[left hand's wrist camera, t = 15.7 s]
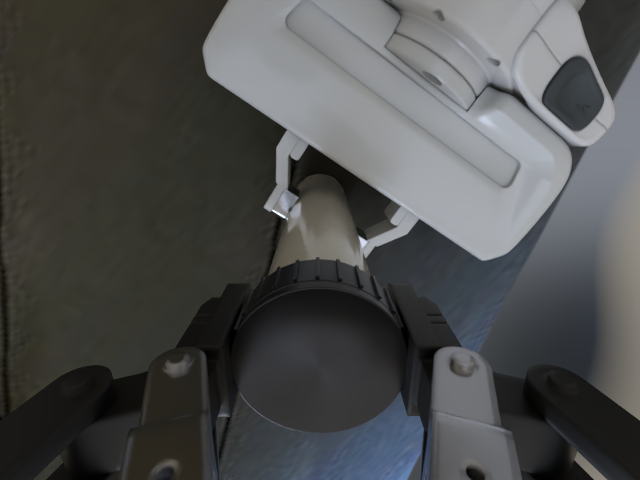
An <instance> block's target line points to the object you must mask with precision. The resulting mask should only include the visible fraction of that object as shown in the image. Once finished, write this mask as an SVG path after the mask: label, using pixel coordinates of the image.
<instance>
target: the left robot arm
mask: <svg viewBox="0 0 640 480" xmlns="http://www.w3.org/2000/svg"><path fill="white" fill-rule="evenodd" d="M250 291H251V285H250V284H228V285H227V287H226V289H225V290H224V292H223V294H222V296H221V298H211V299H210V300H208V301H207V302H206V303H204V304H203V305H202V306H201V307H200V309H199V310H198V312H197V314H196V317H194V319H193V320H192V322H191V324H190V325H189V327H188V328H187V330H186V332H185V333H184V335H183V336H182V338H181V340H180V341H179V343H178V345H177V346H176V348H175V349H172V350H169V351H167V352H164V353H163V354H161V355H160V356H158V357H157V358H156V359H155V360H153V362H152V363H151V364H150V366H149V369H148V371H147V372H144V373H140V374H137V375H132V376H128V377H123V378H118V379H114V380H113V377H112V373H111V371H110V370H109V369H108V368H107V367H104V366H99V365H93V366H86V367H82V368H78V369H75V370H73V371H70V372H68V373H66V374H64V375H62V376H61V377H59V378H57V379H56V380H55V381H53V382H52V383H50V384H49V385H48V386H46V387H45V388H44V389H42V390H41V391H40V392H38V393H37V394H36V395H34V396H33V397H32V398H30V399H29V400H28V401H26V402H25V403H23V404H22V405H21V406H19V407H18V408H17V409H15V410H14V411H13V412H11V413H10V414H9V415H7V416H6V417H5V418H3V419H2V420H1V421H0V480H33V479H34V478H35V477H36V476H37V475H38V474H39V473H40V472H41V471H42V470H43V469H44V468H45V467H46V466H47V465H48V464H49V463H50V462H51V461H53V460H54V459H55V458H56V457H57V456H58V455H59V454H60V455H61V458H62V461H63V464H62V465H61V466H59V467H58V468H57V469H56V470H55V471H54V472H53V473H52V474H51V475H50V476H49V477H48V478H47V479H46V480H220V468H219V455H218V442H217V432H216V425H215V423H216V420H217V417H218V416H230V415H231V412H232V408H233V405H234V401H235V398H236V395H237V391H238V390H237V388H236V385H235V383H234V381H233V374H232V365H231V355H230V350H231V345H232V341H233V339H234V336H235V332H233V330H234V327H235V325H236V322H237V320H238V317H239V315H240V312H241V310H242V307H243V305H245V303H246V301H247V298H248V295H249V293H250ZM387 291H388V293H389V296H390V298H391V301H392V303H395V306H396V309H397V311H398V314H399V316H400V319H401V321H402V324H403V326H404V330H402V332H403V335H404V338H405V340H406V344H407V348H408V353H407V363H406V373H405V381H404V384H403V386H402V389H401V390H400V391H401V395H402V398H403V401H404V405H405V408H406V412H407V415H408V416H420V418H421V421H422V424H423V427H424V432H423V442H422V455H421V468H420V480H594V479H593V478H591V476H590V475H589V474H588V473H587V472H586V471H585V470H583V468H581V467H580V466H579V465H578V464H577V463H576V462H575V461H574V459H575V456H576V453H577V451H578V452H579V453H580V454H581V455H582V456H583V457H584V458H585V459H587V461H589V462H590V463H591V464H592V465H593V466H594V467H595V468H596V469H597V470H598V471H599V472H600V473H601V474H602V475H603V476H604V477H605V478H606V479H607V480H640V421H639V420H638V419H637V418H635V417H634V416H633V415H631V414H630V413H629V412H627V411H626V410H625V409H623V408H622V407H621V406H619V405H618V404H616V403H615V402H614V401H612V400H611V399H610V398H608V397H607V396H606V395H604V394H603V393H602V392H600V391H599V390H598V389H596V388H595V387H593V386H592V385H591V384H589V383H588V382H587V381H585V380H584V379H583V378H581V377H580V376H578V375H576V374H575V373H573V372H571V371H569V370H566V369H563V368H561V367H557V366H553V365H546V364H540V365H535V366H532V367H530V368H529V369H528V371H527V375H526V379H521V378H517V377H512V376H508V375H503V374H499V373H495V372H492V369H491V366H490V364H489V363H488V362H487V361H486V360H485V359H484V358H483V357H482V356H480V355H479V354H477V353H476V352H473V351H471V350H468V349H465V348H462V346H461V345H460V343H459V341H458V340H457V338H456V336H455V335H454V333H453V332H452V330H451V328H450V327H449V325H448V324H447V322H446V320H445V318H444V317H443V316H442V313H441V312H440V310H439V308H438V307H437V305H436V304H434V303H433V302H431V301H430V300H429V299H427V298H426V297H417V296H416V294H415V292H414V290H413V288H412V286H411V284H410V283H389V284H388V286H387Z"/></svg>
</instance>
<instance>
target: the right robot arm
mask: <svg viewBox="0 0 640 480" xmlns="http://www.w3.org/2000/svg"><path fill="white" fill-rule="evenodd" d="M585 1H586V0H228V1H227V3H226V5H225V6H224V8H223V10H222V11H221V13H220V15H219V16H218V18H217V20H216V21H215V23H214V25H213V27H212V28H211V30H210V32H209V34H208V36H207V38H206V40H205V42H204V45H203V57H204V62H205V67H206V72H207V74H208V76H209V77H210V78H212V79H213V80H215V81H216V82H218V83H219V84H220V85H222V86H223V87H225V88H226V89H228V90H229V91H231V92H232V93H234V94H235V95H237V96H238V97H240V98H241V99H243V100H244V101H246V102H247V103H249V104H250V105H252V106H253V107H255V108H256V109H258V110H259V111H261V112H262V113H263V114H265V115H266V116H268V117H269V118H271V119H272V120H274V121H275V122H277V123H278V124H280V125H281V126H283V127H284V128H286V129H287V131H286V132H285V134H284V136H283V137H282V139H281V141H280V143H279V144H278V146H277V148H276V183H277V185H276V187H275V189H274V190H273V192H272V194H271V195H270V197H269V199H268V200H267V202H266V204H265V205H264V207H263V208H265V209H266V210H268V211H269V212H271V213H273V214H275V215H277V216H278V217H280V218H282V219H283V220H285V218H286V217H287V215H288V213H289V210H290V208H291V207H293V206H294V205H295V203H296V202H297V200H298V198H299V196H300V195H299V194H300V191H299V190H298V189H296V188H295V187H293V186H292V185H290V169H291V157H292V158H293V159H295V160H299V159H300V157H301V156H302V154H303V152H304V151H305V149H306V148H307V146H308V145H311V146H312V147H314V148H315V149H317V150H318V151H320V152H321V153H323V154H324V155H326V156H327V157H329V158H330V159H332V160H333V161H335V162H336V163H338V164H339V165H341V166H342V167H344V168H345V169H346V170H348V171H349V172H351V173H352V174H354V175H355V176H357V177H358V178H360V179H361V180H363V181H364V182H366V183H367V184H369V185H370V186H372V187H373V188H375V189H376V190H378V191H379V192H381V193H382V194H384V195H385V196H387V197H388V198H389V199H391V202H390V203H389V205H388V206H387V207H386V209H385V210H384V213H385V215H386V216H387V218H388V219H386V220H384V221H382V222H380V223H378V224H376V225H374V226H371V227H369V228H367V229H365V230H364V231H362V230H361V229H359V228H357V227H356V226H355V227H356V230H357V233H358V236H359V239H360V242H361V246H362V249H363V252H364V255H365V258H366V257H367V256H368V255H369V253H370V252H371V251H372V249H373V248H374V247H375V246H377V247H378V246H380V245H382V244H385V243H387V242H389V241H392V240H394V239H396V238H399V237H401V236H404V235H406V234H407V233H408V232H409V231H410V230H411V228H412V227H413V226H414V225H415V223H416V222H417V221H418V220H419V219H421V220H422V221H424V222H425V223H427V224H428V225H430V226H431V227H432V228H434V229H435V230H437V231H438V232H440V233H441V234H443V235H444V236H446V237H447V238H449V239H450V240H452V241H453V242H455V243H456V244H458V245H459V246H461V247H462V248H464V249H465V250H467V251H468V252H470V253H471V254H473V255H474V256H476V257H477V258H479V259H480V260H483V261H485V260H490V259H493V258H497V257H500V256H503V255H505V254H507V253H508V252H509V251H510V250H511V249H512V248H513V247H514V246H516V245H517V243H518V242H519V241H520V240H521V239H522V238H523V237H524V236H525V235H526V234H527V233H528V231H529V230H530V229H531V228H532V227H533V226H534V224H535V223H536V222H537V221H538V220H539V218H540V217H541V216H542V215H543V214H544V212H545V211H546V210H547V209H548V207H549V206H550V205H551V203H552V202H553V201H554V199H555V198H556V197H557V195H558V194H559V193H560V191H561V190H562V188H563V187H564V185H565V183H566V181H567V179H568V177H569V174H570V171H571V166H572V156H571V152H570V149H569V147H568V146H590V145H592V144H593V143H595V142H596V141H598V140H599V139H600V138H601V137H602V136H603V135H604V134H605V133H606V131H607V130H608V129H609V128H610V127H611V125H612V124H613V122H614V120H615V116H616V112H615V107H614V104H613V101H612V99H611V97H610V95H609V93H608V91H607V88H606V86H605V84H604V82H603V80H602V78H601V76H600V73H599V71H598V69H597V66H596V64H595V62H594V59H593V57H592V54H591V52H590V49H589V46H588V43H587V41H586V38H585V35H584V31H583V28H582V24H581V21H580V18H579V15H578V11H579V10H580V9H581V7H582V6H583V5H584V3H585Z"/></svg>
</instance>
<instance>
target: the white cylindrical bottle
mask: <svg viewBox="0 0 640 480" xmlns="http://www.w3.org/2000/svg"><path fill="white" fill-rule="evenodd" d="M296 189H298V190H299V191H300V194H299V195H300V196H299V198H298V200H297V202H296V203H295V205H294V206H293V207H291V208H290V210H289V213H288V215H287V218H286V221H285V224H284V227H283V230H282V234H281V237H280V240H279V243H278V246H277V249H276V252H275V255H274V258H273V262H272V265H271V268H270V271H269V274H268V276H269V275H270V274H272V273H273V272H275V271H276V270H277V267H279V266H280V267H281V268H282V267H284V266H287V265H289V264H292V263H295V262H296V260H299V261H305V260H312V259H316V257H320V259H326V260H334V261H336V259H340V262H343V263H346V264H349V265H352V266H354V267H355V265H357V266H359V269H360V270H362V271H364V272H365V273H367V274H368V275H370V276H371V274H370V271H369V268H368V265H367V262H366V258H365V255H364V252H363V249H362V246H361V242H360V239H359V236H358V233H357V230H356V227H355V223H354V220H353V217H352V214H351V211H350V207H349V204H348V201H347V198H346V195H345V192H344V189H343V187H342V186H341V184H340V183H339V182H338V181H337V180H336V179H334V178H333V177H331V176H328V175H325V174H315V175H311V176H308V177H307V178H305V179H304V180H302V181H301V182H300V184H299V185H298V186H297V188H296Z"/></svg>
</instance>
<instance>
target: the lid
mask: <svg viewBox="0 0 640 480" xmlns="http://www.w3.org/2000/svg"><path fill="white" fill-rule="evenodd" d="M402 330H404V326H403V324H402V321H401V319H400V316H399V314H398V311H397V309H396V306H395V303H392V301H391V298H390V296H389V293H388V291H387V289H386V288H384V289H383V288H382V287H381V286H380V284H379V283H378V282H377V281H376V278H375V276H374V275H372V276H370V275H368V274H367V273H365V272H364V271H362V270H360V269H359V266H357V265H355V267H354V266H352V265H349V264H346V263H343V262H340V259H336V261H334V260H326V259H320V257H316V259H312V260H305V261H299V260H296V262H295V263H292V264H289V265H287V266H284V267H282V268H281V267H280V266H279V267H277V270H276V271H275V272H273V273H272V274H270V275H269V276H268V277H266V278H265V277H263V278H262V279H261V281H260V284H259V285H258V286H257V287H256V289H255V290H254V291H253V290H251V291H250V293H249V295H248V298H247V301H246V303H245V305H243V307H242V310H241V312H240V315H239V317H238V320H237V322H236V325H235V327H234V330H233V332H235V336H234V339H233V341H232V345H231V350H230V355H231V365H232V374H233V381H234V383H235V385H236V388H237V390H238V391H239V393H240V395H241V396H242V398H243V399H244V400H245V401H246V402H247V404H248V405H249V406H250V407H251V408H252V409H254V410H255V411H256V412H257V413H258V414H260V415H261V416H263V417H264V418H266V419H267V420H269V421H271V422H273V423H275V424H277V425H280V426H282V427H285V428H289V429H292V430H296V431H301V432H310V433H329V432H337V431H342V430H347V429H350V428H353V427H356V426H359V425H361V424H363V423H365V422H367V421H369V420H371V419H373V418H374V417H376V416H377V415H379V414H380V413H381V412H383V411H384V410H385V409H386V408H387V407H388V406H389V405H390V404H391V403H392V402H393V400H394V399H395V398H396V397H397V395H398V394H399V392H400V390H401V389H402V386H403V384H404V381H405V373H406V363H407V353H408V348H407V344H406V340H405V338H404V335H403V332H402Z"/></svg>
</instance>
